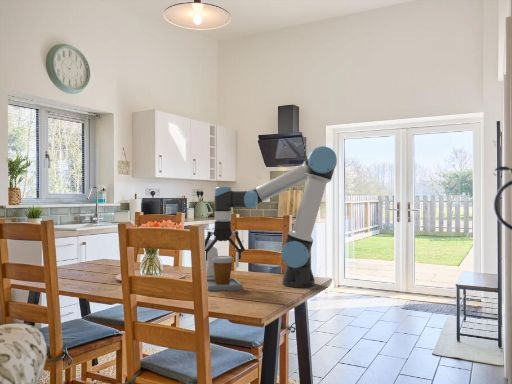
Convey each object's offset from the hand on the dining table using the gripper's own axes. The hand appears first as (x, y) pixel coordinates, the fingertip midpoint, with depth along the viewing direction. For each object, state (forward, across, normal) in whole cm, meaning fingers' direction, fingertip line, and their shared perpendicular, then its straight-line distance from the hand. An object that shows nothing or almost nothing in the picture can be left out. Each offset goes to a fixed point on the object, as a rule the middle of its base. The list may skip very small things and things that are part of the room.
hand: (222, 267), depth 200 cm
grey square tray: (+9, 0, 0) cm, 9 cm away
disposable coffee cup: (+8, 0, 0) cm, 8 cm away
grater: (+9, +4, -18) cm, 21 cm away
